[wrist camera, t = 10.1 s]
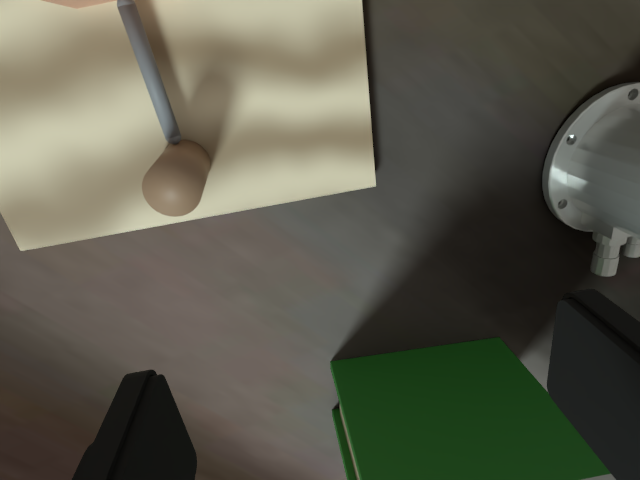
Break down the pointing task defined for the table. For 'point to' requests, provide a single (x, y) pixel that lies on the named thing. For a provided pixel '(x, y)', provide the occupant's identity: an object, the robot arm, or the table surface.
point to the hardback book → (454, 418)
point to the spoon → (181, 155)
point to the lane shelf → (177, 109)
